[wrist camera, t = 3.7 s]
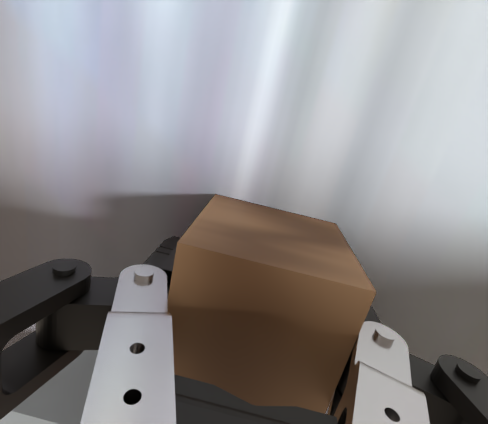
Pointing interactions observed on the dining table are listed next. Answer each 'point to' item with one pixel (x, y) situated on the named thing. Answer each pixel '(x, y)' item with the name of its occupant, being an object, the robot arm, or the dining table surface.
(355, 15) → the dining table surface
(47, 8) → the dining table surface
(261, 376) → the walnut cube
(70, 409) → the base block
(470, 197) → the dining table surface
